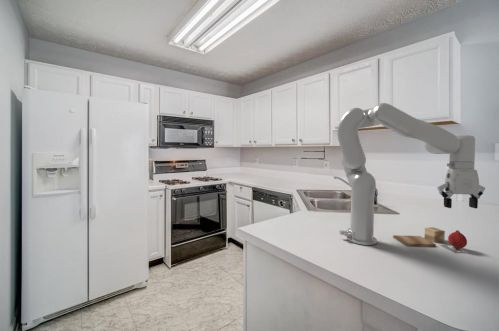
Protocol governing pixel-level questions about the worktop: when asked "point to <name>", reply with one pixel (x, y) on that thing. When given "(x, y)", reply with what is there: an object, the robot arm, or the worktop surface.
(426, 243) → the board
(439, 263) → the worktop surface
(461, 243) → the onion
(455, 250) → the tile
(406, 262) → the worktop surface
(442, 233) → the oak block
